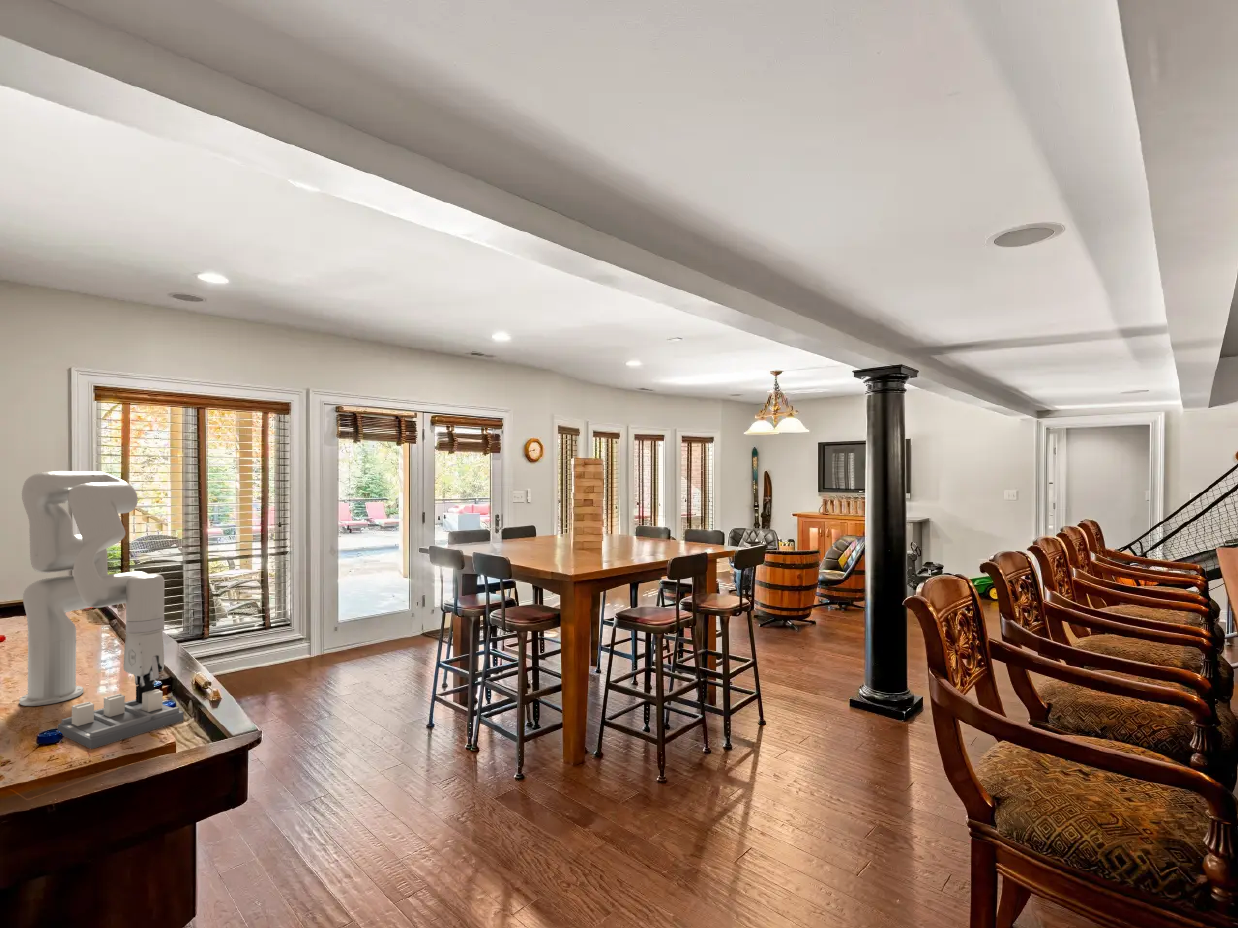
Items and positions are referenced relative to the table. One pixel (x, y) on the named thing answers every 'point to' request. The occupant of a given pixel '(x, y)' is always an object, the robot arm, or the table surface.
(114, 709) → the tab
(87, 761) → the table surface
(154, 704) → the tab
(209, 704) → the table surface
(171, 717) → the switch bank
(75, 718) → the tab
